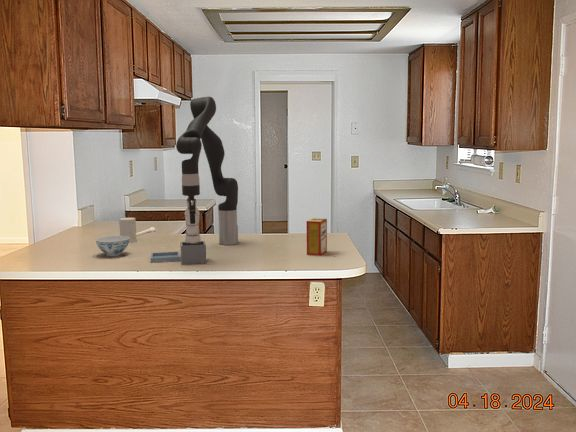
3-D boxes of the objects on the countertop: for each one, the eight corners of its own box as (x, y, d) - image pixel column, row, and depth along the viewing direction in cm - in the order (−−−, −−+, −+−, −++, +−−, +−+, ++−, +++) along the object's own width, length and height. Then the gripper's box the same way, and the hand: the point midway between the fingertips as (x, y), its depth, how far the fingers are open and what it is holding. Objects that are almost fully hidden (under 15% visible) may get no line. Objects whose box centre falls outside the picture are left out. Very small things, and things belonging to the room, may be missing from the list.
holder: (204, 258, 263) (204, 240, 262) (206, 263, 254) (205, 244, 253) (180, 259, 261) (180, 242, 260) (181, 264, 252) (180, 246, 251)
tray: (179, 255, 270) (179, 251, 270) (180, 261, 259) (179, 256, 258) (151, 257, 267) (151, 252, 267) (150, 262, 256) (150, 258, 256)
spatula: (128, 240, 312) (128, 235, 311) (122, 240, 313) (121, 234, 313) (157, 231, 338) (156, 226, 337) (151, 231, 339) (150, 226, 339)
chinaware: (95, 253, 277) (94, 237, 276) (127, 250, 283) (127, 234, 282) (98, 259, 264) (97, 242, 263) (132, 256, 270) (131, 239, 269)
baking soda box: (320, 255, 266) (320, 220, 263) (306, 254, 268) (306, 220, 266) (326, 251, 274) (326, 217, 272) (313, 250, 277) (313, 217, 274)
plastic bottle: (186, 245, 260) (184, 200, 257) (201, 244, 260) (199, 199, 257) (184, 248, 253) (182, 202, 250) (200, 247, 254) (198, 201, 251)
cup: (132, 243, 302) (131, 220, 300) (117, 242, 303) (116, 219, 302) (139, 240, 310) (138, 217, 308) (125, 239, 311) (123, 217, 310)
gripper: (200, 185, 246) (202, 224, 249) (198, 182, 260) (199, 219, 263) (182, 186, 245) (184, 225, 247) (181, 182, 259) (182, 220, 261)
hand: (192, 222), depth 255 cm, fingers closed on plastic bottle, 6 cm apart
